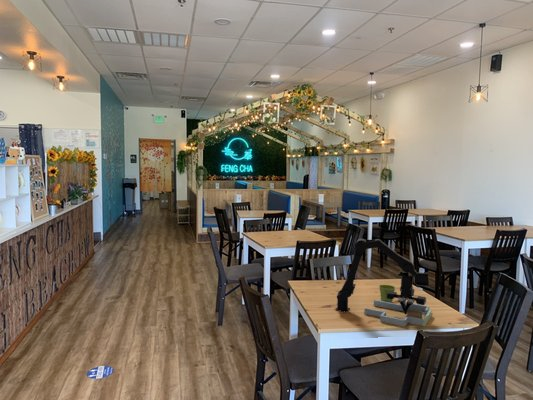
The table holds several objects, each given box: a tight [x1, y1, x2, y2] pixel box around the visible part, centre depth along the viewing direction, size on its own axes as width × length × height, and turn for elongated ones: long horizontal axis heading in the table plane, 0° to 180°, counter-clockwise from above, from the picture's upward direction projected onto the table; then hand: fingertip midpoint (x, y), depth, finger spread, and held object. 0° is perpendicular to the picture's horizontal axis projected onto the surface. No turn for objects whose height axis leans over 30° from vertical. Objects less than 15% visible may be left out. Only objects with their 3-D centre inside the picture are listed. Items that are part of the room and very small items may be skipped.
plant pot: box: [378, 284, 397, 303], centre depth 228 cm, size 9×9×9 cm
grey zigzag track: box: [363, 299, 432, 327], centre depth 206 cm, size 29×30×3 cm
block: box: [406, 309, 423, 319], centre depth 201 cm, size 6×6×4 cm
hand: (405, 314), depth 204 cm, fingers closed
